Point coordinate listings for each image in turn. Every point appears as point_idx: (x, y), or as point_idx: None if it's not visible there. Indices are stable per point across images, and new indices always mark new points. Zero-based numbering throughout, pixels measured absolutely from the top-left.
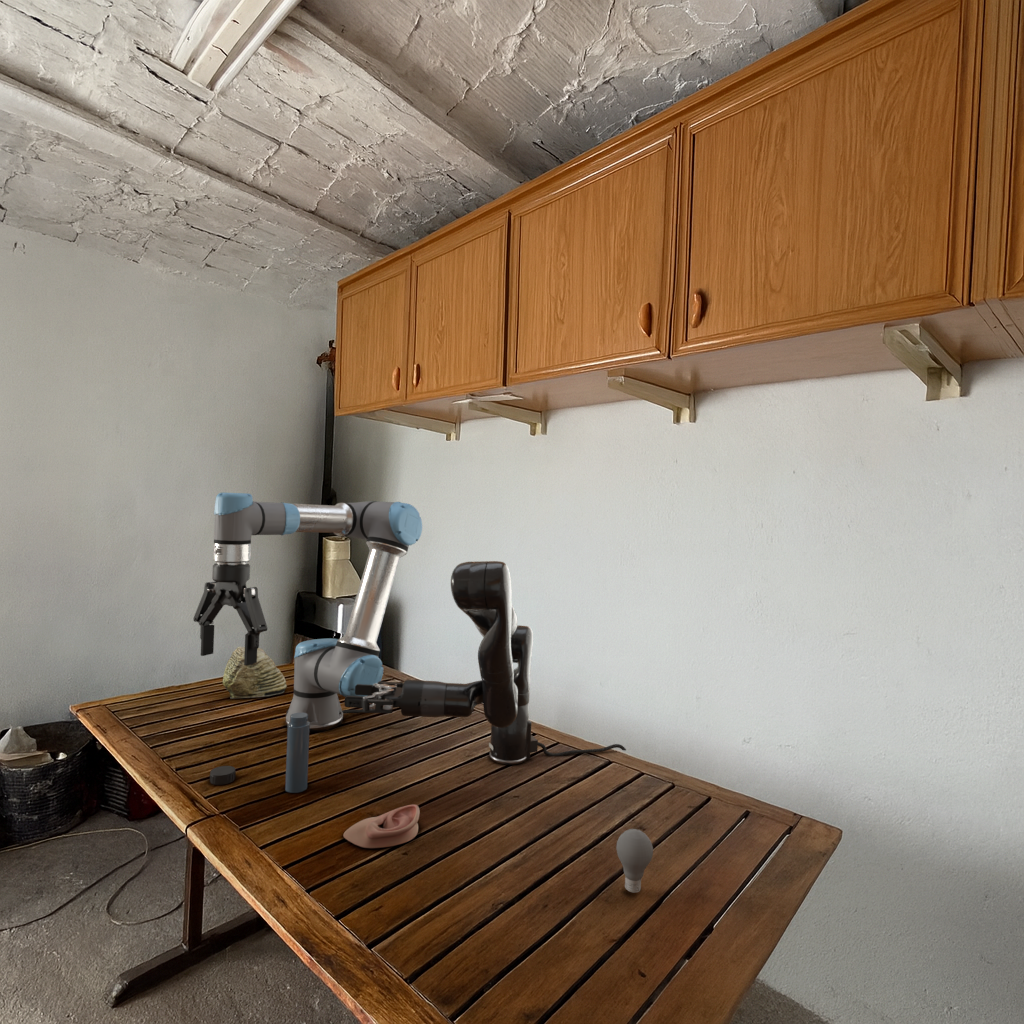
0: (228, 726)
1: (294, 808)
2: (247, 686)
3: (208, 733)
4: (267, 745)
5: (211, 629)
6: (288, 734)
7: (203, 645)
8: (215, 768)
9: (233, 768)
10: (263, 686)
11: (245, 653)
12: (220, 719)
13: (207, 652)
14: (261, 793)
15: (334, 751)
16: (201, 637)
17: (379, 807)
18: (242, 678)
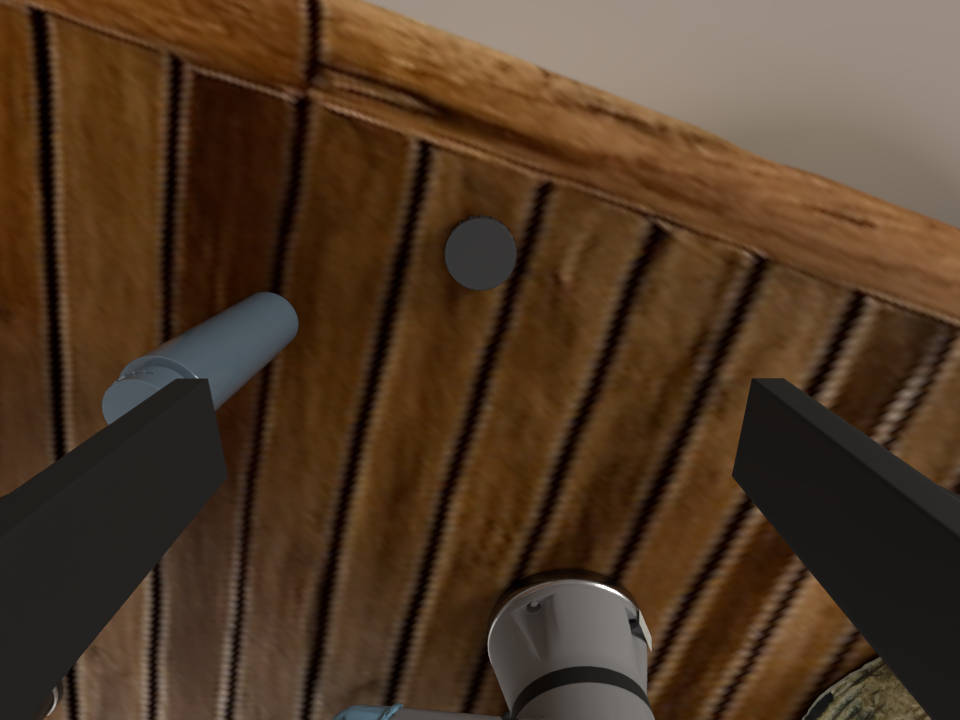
0: None
1: (171, 231)
2: (891, 694)
3: None
4: (558, 471)
5: (915, 649)
6: (186, 346)
7: (812, 428)
8: (512, 253)
9: (465, 282)
10: (851, 717)
11: (128, 428)
12: None
13: (754, 433)
14: (318, 249)
15: (373, 526)
16: (919, 475)
17: (15, 349)
18: (925, 712)
